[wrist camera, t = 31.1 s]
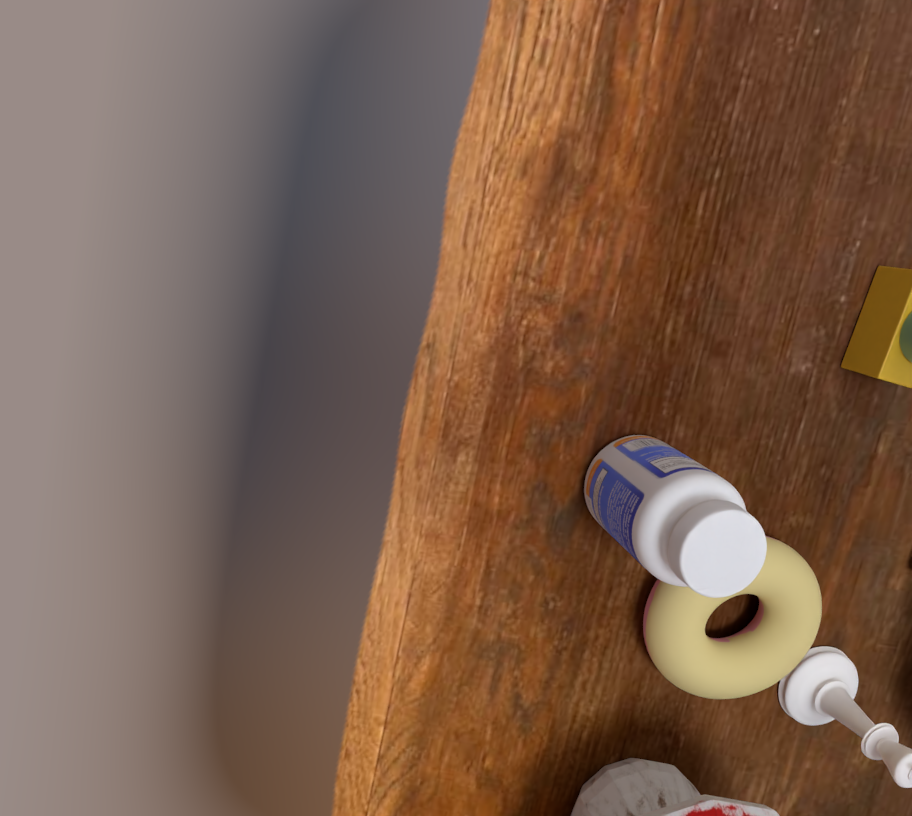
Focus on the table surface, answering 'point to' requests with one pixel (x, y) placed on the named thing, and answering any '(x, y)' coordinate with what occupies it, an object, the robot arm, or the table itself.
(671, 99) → the table surface
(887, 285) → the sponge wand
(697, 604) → the donut
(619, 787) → the decorative mushroom
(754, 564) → the pill bottle
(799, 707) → the chess piece
